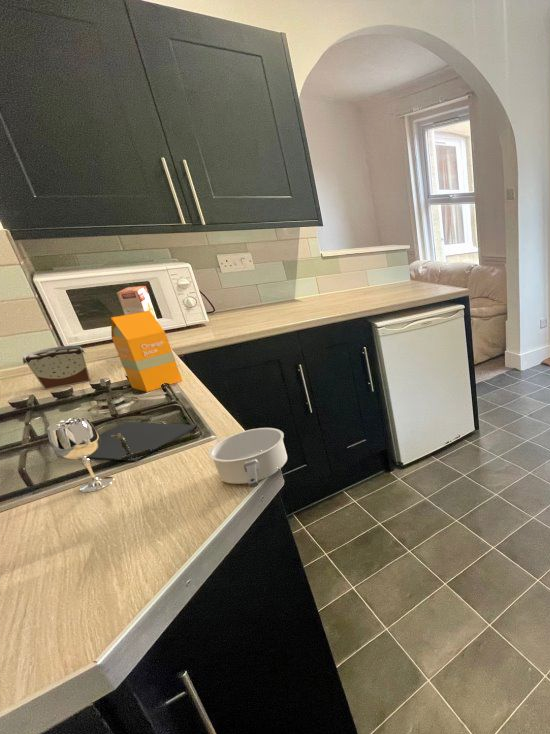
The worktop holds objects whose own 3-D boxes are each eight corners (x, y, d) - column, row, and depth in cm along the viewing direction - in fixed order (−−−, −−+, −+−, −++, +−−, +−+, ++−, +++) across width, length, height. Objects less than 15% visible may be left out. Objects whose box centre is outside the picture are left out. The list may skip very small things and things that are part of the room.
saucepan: (218, 527, 62) (206, 497, 60) (218, 465, 77) (209, 439, 75) (302, 499, 68) (294, 470, 65) (286, 446, 83) (280, 422, 81)
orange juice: (182, 380, 119) (158, 311, 112) (147, 392, 112) (118, 318, 104) (166, 376, 122) (141, 309, 115) (131, 387, 115) (102, 316, 107)
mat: (57, 456, 82) (56, 454, 82) (128, 423, 95) (127, 421, 95) (136, 462, 79) (135, 460, 79) (197, 427, 92) (196, 425, 92)
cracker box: (159, 349, 148) (138, 290, 140) (138, 352, 146) (114, 292, 138) (166, 340, 160) (146, 285, 152) (146, 343, 157) (125, 286, 149)
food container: (99, 374, 126) (85, 342, 122) (97, 379, 122) (83, 346, 118) (40, 385, 119) (24, 351, 115) (37, 391, 115) (19, 356, 111)
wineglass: (74, 484, 73) (43, 423, 68) (117, 471, 77) (90, 412, 72) (74, 499, 69) (41, 435, 65) (120, 484, 73) (91, 422, 68)
